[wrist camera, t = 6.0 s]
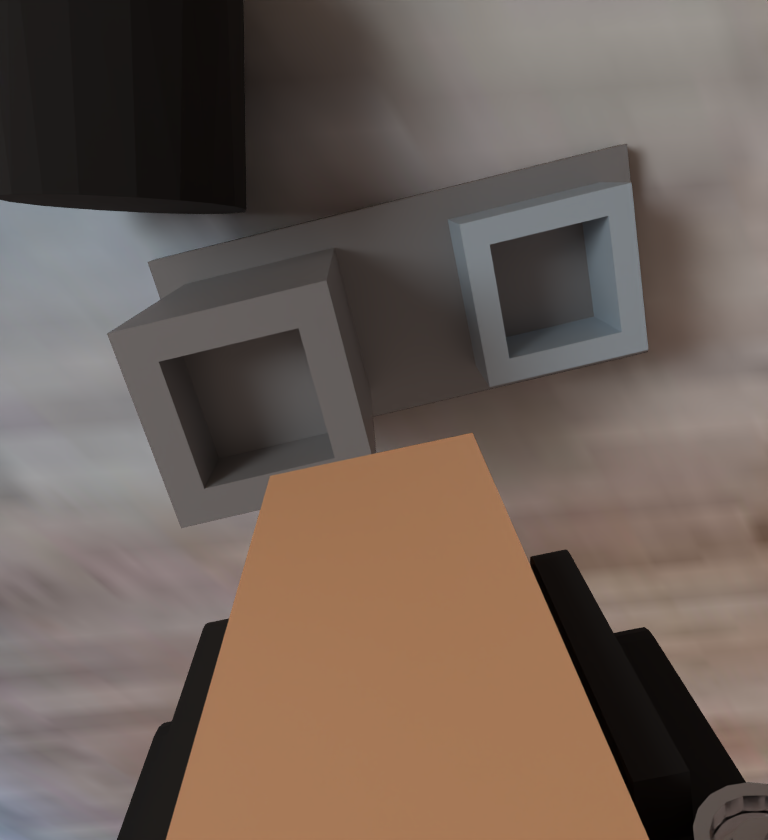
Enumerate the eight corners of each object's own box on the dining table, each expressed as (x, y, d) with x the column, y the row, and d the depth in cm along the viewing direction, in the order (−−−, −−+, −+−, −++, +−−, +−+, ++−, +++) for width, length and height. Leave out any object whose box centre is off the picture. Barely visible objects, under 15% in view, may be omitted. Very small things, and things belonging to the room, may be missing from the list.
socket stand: (619, 144, 35) (764, 127, 23) (640, 347, 39) (774, 426, 26) (153, 260, 36) (50, 302, 24) (217, 447, 39) (157, 568, 27)
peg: (472, 432, 13) (771, 1119, 4) (503, 603, 14) (777, 1419, 5) (269, 475, 13) (51, 1238, 4) (320, 640, 15) (251, 1496, 5)
